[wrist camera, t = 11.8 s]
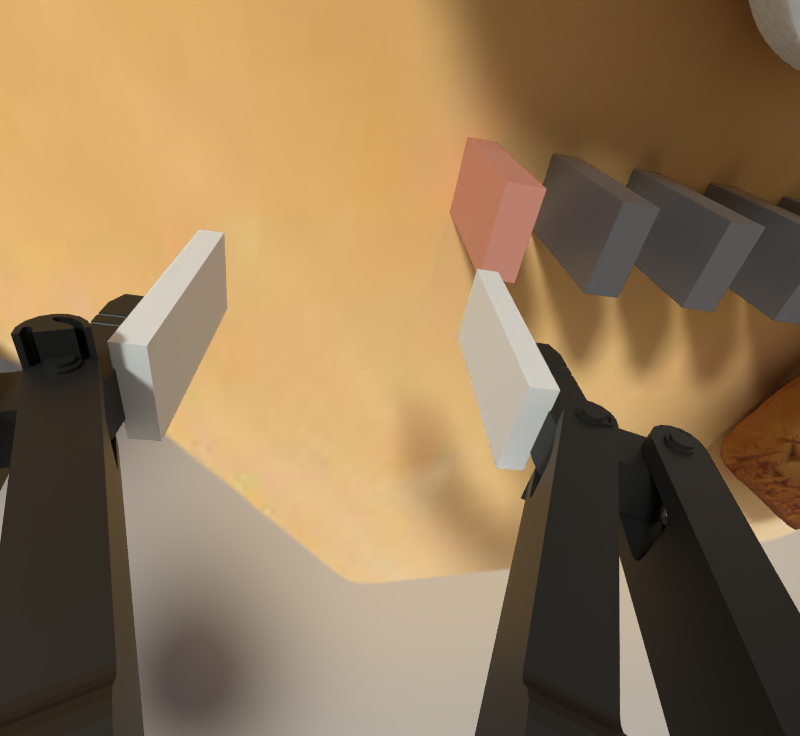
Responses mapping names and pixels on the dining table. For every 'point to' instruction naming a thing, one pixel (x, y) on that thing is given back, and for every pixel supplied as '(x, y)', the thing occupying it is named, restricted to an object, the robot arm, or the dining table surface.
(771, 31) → the cereal bowl
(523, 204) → the domino
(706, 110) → the dining table surface
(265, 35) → the dining table surface
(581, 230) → the domino
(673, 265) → the domino
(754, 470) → the inscribed clay slab
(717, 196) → the domino
